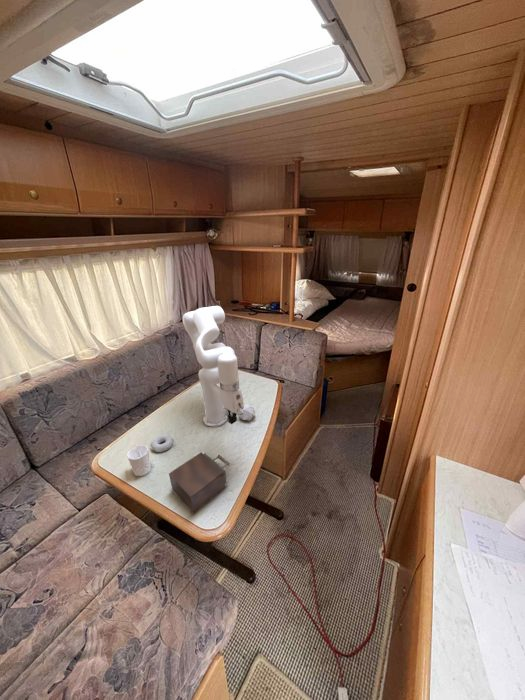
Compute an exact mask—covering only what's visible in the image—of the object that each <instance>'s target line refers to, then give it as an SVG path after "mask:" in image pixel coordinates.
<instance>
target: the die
mask: <svg viewBox="0 0 525 700" xmlns="http://www.w3.org/2000/svg"><path fill="white" fill-rule="evenodd" d="M243 404H244V409H241V408H240V410H241V415H239V416H238V417H239V418H240V420H242V421H252V420H253V417H254V415H255V413H256V410H255V408H254V407H253V404H249V403H243Z"/></svg>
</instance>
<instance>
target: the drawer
mask: <svg viewBox="0 0 525 700" xmlns="http://www.w3.org/2000/svg"><path fill="white" fill-rule="evenodd" d="M203 454H204V455H205V456H206V457H207V458H209V459H210V460H211V461H212V462H213V463H214V464H216V465H217V466H218V467H219V468H220V469H221V470H223V471H224V479H225V485H226V484H228V481H227V471H226V467H230V465H231V462H229V461H228V460H227V459H226V458H225V457H223V456H222V455H221V454H219V453H218V454H217V455H216V457H214V458H212V457H210V455H208V454H207V453H206V452H204V453H203ZM217 460H220V461H221V462H222V463H224V465H223V466H221V465H220V464H219V463H217V462H216V461H217Z"/></svg>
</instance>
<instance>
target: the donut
mask: <svg viewBox="0 0 525 700" xmlns="http://www.w3.org/2000/svg"><path fill="white" fill-rule="evenodd" d="M173 443H174V438H173V437H172V436H171V435H169V434H159V435H158V436H156V437H155V438H153V439H152V441H151V444H150V448H151V450H153V451H154V452H155V453H162V452H166V451H167V450H169V449H170V448H171V447H172V446H173Z"/></svg>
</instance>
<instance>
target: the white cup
mask: <svg viewBox="0 0 525 700" xmlns="http://www.w3.org/2000/svg"><path fill="white" fill-rule="evenodd" d="M126 457H127V459H128V462H129V464H130V467H131V470H132V472H133V474H134V475H135V476H137V477H143V476H145V475H147V474H148V473H149V472H150V471H151V467H152V466H151V459H150V454H149V449H148V446H146V445H143V444H141V445H136V446H134V447H132V448H130V449H129V451H128V452H127V455H126Z"/></svg>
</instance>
